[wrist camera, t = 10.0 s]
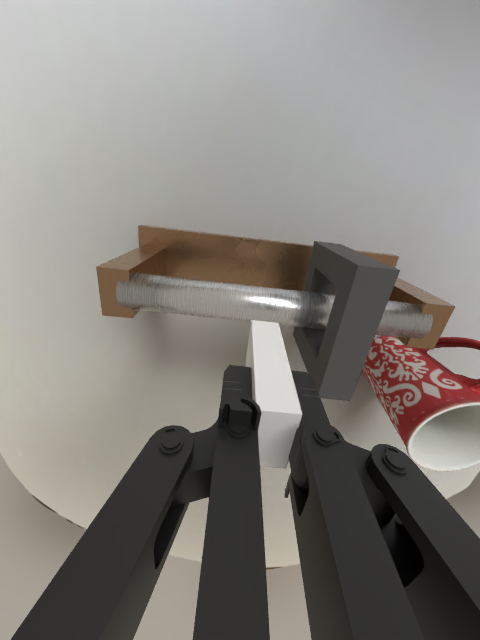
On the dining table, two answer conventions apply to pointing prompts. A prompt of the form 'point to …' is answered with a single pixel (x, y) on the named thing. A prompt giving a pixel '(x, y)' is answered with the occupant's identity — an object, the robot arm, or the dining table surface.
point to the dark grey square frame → (343, 316)
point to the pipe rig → (248, 285)
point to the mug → (427, 402)
